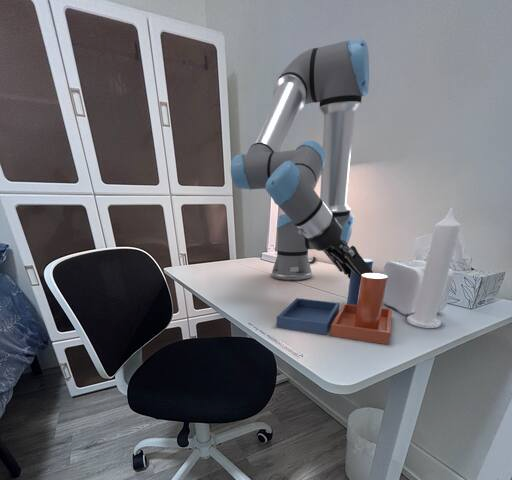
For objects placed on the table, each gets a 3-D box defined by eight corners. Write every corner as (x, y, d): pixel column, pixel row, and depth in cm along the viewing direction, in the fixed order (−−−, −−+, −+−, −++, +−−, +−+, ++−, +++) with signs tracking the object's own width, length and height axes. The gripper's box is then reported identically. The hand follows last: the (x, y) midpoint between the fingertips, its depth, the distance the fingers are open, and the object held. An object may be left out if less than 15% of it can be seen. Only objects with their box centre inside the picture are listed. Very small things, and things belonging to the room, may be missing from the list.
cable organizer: (375, 300, 85) (382, 259, 80) (408, 297, 87) (416, 258, 82) (408, 318, 72) (419, 271, 67) (446, 315, 73) (459, 268, 68)
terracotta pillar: (355, 324, 67) (362, 272, 62) (378, 327, 65) (388, 274, 60) (352, 332, 63) (360, 277, 58) (376, 336, 61) (387, 279, 56)
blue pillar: (348, 301, 82) (353, 257, 77) (366, 303, 80) (373, 259, 75) (345, 306, 78) (351, 261, 73) (365, 309, 76) (372, 262, 71)
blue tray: (296, 307, 81) (296, 298, 79) (338, 312, 76) (339, 303, 75) (276, 327, 68) (276, 316, 67) (326, 335, 63) (327, 324, 62)
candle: (419, 315, 73) (445, 206, 62) (446, 324, 68) (481, 206, 57) (400, 320, 70) (424, 207, 60) (427, 330, 65) (460, 207, 54)
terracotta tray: (342, 312, 76) (343, 303, 75) (390, 318, 72) (392, 308, 70) (330, 335, 63) (331, 324, 62) (388, 344, 59) (390, 333, 58)
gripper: (293, 236, 75) (342, 291, 86) (327, 245, 60) (381, 311, 71) (313, 213, 74) (360, 272, 85) (353, 216, 59) (404, 288, 70)
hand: (370, 290), depth 78 cm, fingers closed on blue pillar, 5 cm apart
